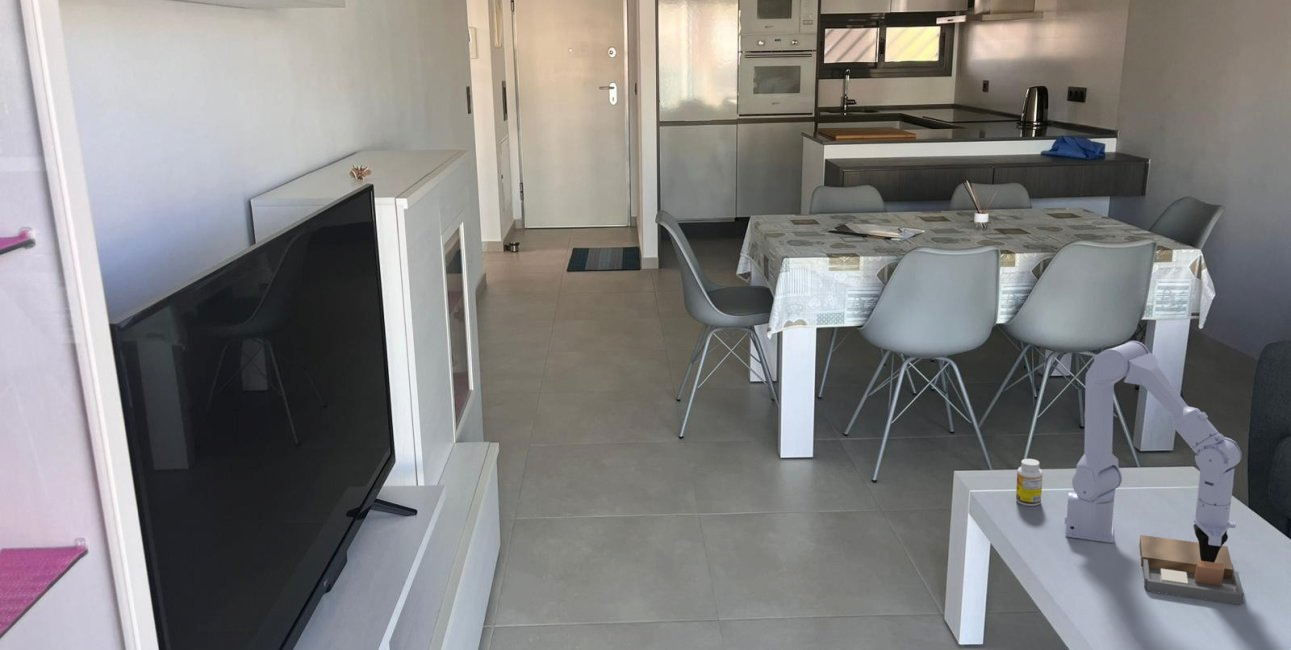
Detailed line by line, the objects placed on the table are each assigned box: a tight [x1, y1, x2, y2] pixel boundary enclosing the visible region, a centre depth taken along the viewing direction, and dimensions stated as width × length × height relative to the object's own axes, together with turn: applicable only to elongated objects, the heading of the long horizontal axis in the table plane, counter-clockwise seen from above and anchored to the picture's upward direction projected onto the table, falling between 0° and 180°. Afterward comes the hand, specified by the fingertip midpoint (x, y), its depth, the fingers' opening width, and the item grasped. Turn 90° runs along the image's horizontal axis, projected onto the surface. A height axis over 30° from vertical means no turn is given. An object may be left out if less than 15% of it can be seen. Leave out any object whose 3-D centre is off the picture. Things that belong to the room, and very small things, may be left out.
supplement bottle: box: [1015, 458, 1043, 507], centre depth 228 cm, size 6×6×10 cm
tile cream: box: [1160, 569, 1188, 585], centre depth 190 cm, size 4×4×2 cm
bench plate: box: [1138, 534, 1234, 580], centre depth 198 cm, size 16×10×2 cm, turn 66°
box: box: [1142, 559, 1244, 606], centre depth 190 cm, size 17×9×2 cm, turn 66°
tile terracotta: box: [1195, 560, 1224, 586], centre depth 189 cm, size 4×4×2 cm
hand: (1207, 562), depth 193 cm, fingers closed
